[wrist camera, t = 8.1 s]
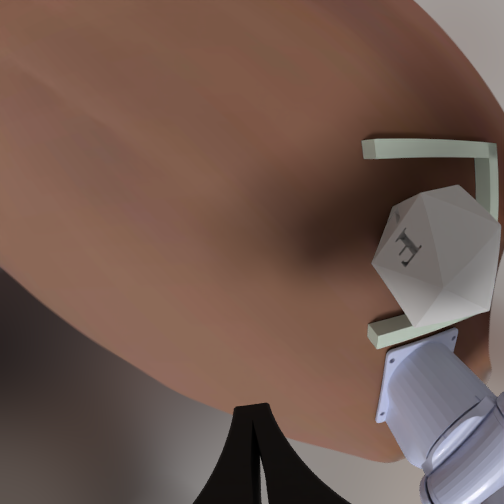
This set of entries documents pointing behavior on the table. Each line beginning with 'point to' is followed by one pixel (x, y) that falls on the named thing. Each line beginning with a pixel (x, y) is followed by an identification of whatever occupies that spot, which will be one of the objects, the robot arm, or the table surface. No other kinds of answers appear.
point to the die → (439, 256)
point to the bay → (486, 196)
